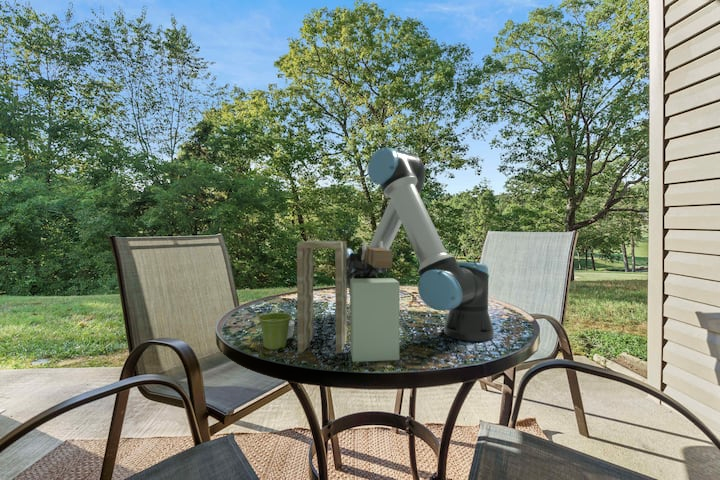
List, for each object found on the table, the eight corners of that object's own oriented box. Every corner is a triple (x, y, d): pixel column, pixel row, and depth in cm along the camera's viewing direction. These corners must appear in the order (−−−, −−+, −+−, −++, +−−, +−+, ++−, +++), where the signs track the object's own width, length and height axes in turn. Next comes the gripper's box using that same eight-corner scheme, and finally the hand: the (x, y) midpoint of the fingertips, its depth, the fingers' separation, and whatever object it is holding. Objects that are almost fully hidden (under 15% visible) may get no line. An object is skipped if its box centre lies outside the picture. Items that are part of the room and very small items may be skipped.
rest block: (393, 349, 99) (393, 278, 98) (399, 359, 91) (399, 282, 90) (350, 351, 98) (350, 278, 97) (352, 361, 90) (352, 283, 89)
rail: (362, 260, 106) (362, 246, 106) (375, 260, 106) (376, 246, 106) (375, 267, 82) (375, 250, 82) (392, 267, 82) (392, 250, 82)
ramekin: (299, 336, 111) (299, 323, 111) (274, 342, 105) (274, 328, 105) (285, 331, 118) (285, 318, 118) (260, 336, 112) (260, 322, 112)
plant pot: (294, 341, 107) (294, 312, 106) (289, 351, 97) (288, 320, 97) (262, 341, 106) (262, 312, 106) (254, 352, 97) (254, 320, 97)
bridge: (308, 336, 111) (308, 241, 110) (346, 337, 110) (346, 241, 109) (297, 352, 97) (297, 242, 96) (341, 353, 96) (340, 242, 95)
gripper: (389, 288, 118) (404, 257, 97) (338, 288, 116) (342, 257, 95) (387, 268, 121) (402, 234, 101) (338, 267, 119) (342, 233, 99)
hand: (373, 245), depth 98 cm, fingers closed on rail, 4 cm apart
